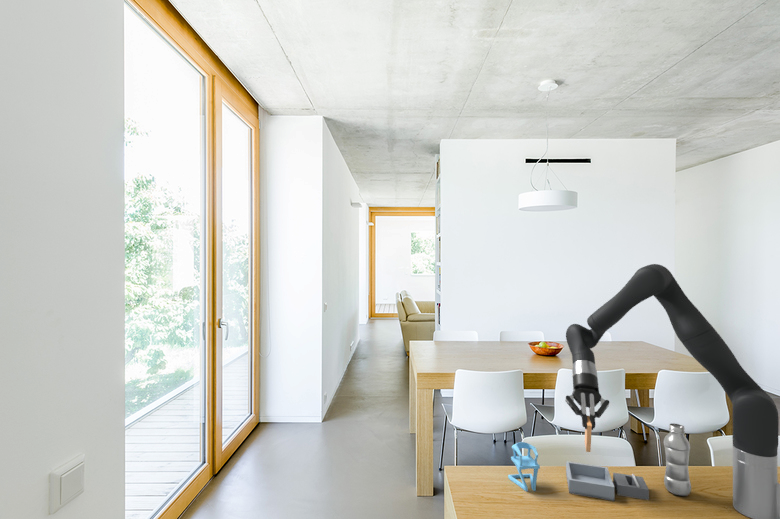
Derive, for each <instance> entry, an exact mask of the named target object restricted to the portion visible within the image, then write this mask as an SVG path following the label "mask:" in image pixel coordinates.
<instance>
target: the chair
mask: <svg viewBox="0 0 780 519" xmlns="http://www.w3.org/2000/svg"><path fill="white" fill-rule="evenodd" d="M511 449H512V452H513V456H510V460H511V461H512V463H513V464H514V465H515V467H516V470H517V472H518V473H517V474H508V475H507V476H508V478H507V479H508V480H510V481H511V482H512V483H514V484H515V485H517V486H518V487H520V488H521V489H522V490H524V491H525V492H529V490H528V489H529V487H528V485H527V482H526V480H525V478H529V480H530V486H531V489H532V491H534V492H536V491H537V489H536V486H537V479H538V472H539V469H541V465H540V464H539V463H538V458H539V453H538V451H537V450H538V449H537V448H536V446H534V445H532V444H530V443H528V442H524V441H520V442H516V443H514V444H513V445H512V446H511ZM520 449H527V455H522V452H521V450H520ZM531 450H532V451H533V454H534V455H535V457H534V458H533V457H532V455H531ZM517 455H518V456H517ZM528 469H529V470H530V469H532V470H533V474H532V473H522V471H523V470H528ZM519 478H520V479H521V480H520V481H519V480H518V479H519Z"/></svg>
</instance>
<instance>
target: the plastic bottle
mask: <svg viewBox="0 0 780 519" xmlns="http://www.w3.org/2000/svg"><path fill="white" fill-rule="evenodd" d="M668 427H669V428H668V431H669V433H667V434H666V435H665V437H664V438H663V446H664V452H665V453H664V454H665V465H666V466H665V473H664V477H663V478H664V479H663V483H664V487H665V488H666V490H667V491H668V492H670V493H671V494H673V495H675V496H682V497H687V496H688V495H690V493H691V491H692V485H691V480H690V474H689V471H690V470H689V460H690V459H689V458H690V451H691V444H690V442H689V440H688V438H687V437H686V436H685V434H686V431H685V430H686V429H685V425H682V424H679V423H675V422H673V423H671V422H670V423H669V426H668Z"/></svg>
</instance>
